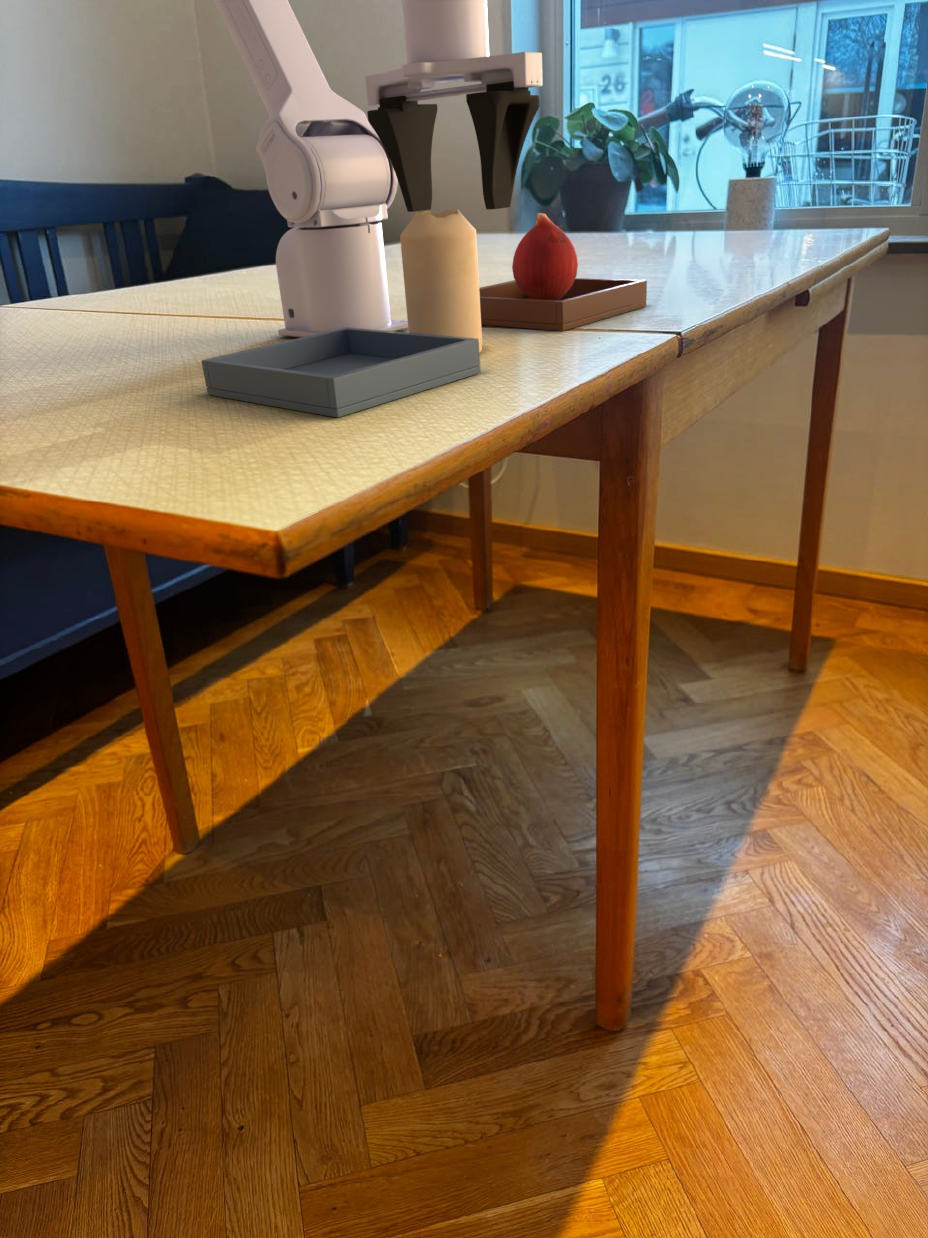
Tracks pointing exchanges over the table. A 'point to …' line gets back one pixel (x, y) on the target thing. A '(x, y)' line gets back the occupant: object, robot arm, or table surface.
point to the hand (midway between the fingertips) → (457, 209)
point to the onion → (545, 261)
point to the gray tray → (341, 369)
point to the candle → (441, 275)
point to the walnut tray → (561, 304)
